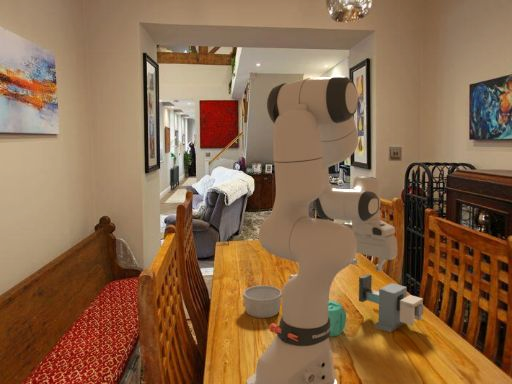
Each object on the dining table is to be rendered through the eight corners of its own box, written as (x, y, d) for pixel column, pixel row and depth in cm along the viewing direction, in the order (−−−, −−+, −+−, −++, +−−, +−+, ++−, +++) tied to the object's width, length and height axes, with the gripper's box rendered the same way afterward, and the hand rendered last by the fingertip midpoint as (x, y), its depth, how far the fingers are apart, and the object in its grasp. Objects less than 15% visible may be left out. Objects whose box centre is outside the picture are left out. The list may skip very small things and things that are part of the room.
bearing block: (389, 332, 113) (390, 295, 112) (374, 327, 117) (375, 291, 116) (409, 320, 121) (410, 285, 120) (394, 315, 125) (395, 281, 124)
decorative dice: (333, 339, 110) (333, 313, 109) (309, 331, 115) (309, 306, 114) (346, 329, 116) (346, 304, 115) (323, 322, 121) (323, 298, 120)
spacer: (412, 325, 111) (413, 304, 110) (399, 321, 114) (400, 300, 113) (422, 319, 115) (422, 298, 114) (409, 315, 118) (409, 294, 117)
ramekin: (279, 321, 122) (278, 300, 122) (239, 318, 125) (238, 298, 124) (284, 305, 135) (284, 286, 134) (248, 302, 138) (247, 284, 137)
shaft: (417, 319, 110) (417, 293, 109) (358, 300, 125) (359, 277, 124) (424, 314, 114) (425, 288, 113) (367, 296, 128) (367, 273, 127)
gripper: (333, 223, 129) (334, 262, 131) (389, 232, 114) (389, 276, 115) (344, 220, 133) (345, 258, 135) (400, 228, 118) (399, 271, 120)
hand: (365, 267), depth 125 cm, fingers open, 8 cm apart
